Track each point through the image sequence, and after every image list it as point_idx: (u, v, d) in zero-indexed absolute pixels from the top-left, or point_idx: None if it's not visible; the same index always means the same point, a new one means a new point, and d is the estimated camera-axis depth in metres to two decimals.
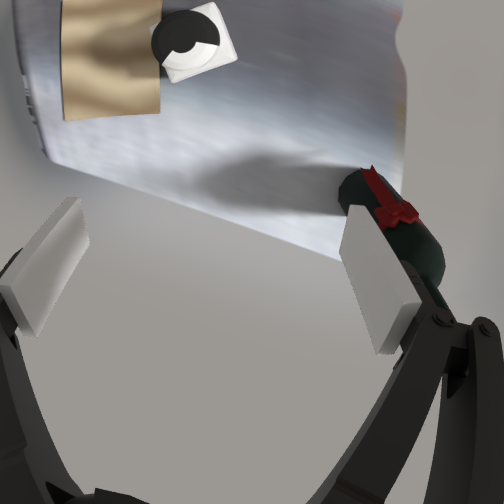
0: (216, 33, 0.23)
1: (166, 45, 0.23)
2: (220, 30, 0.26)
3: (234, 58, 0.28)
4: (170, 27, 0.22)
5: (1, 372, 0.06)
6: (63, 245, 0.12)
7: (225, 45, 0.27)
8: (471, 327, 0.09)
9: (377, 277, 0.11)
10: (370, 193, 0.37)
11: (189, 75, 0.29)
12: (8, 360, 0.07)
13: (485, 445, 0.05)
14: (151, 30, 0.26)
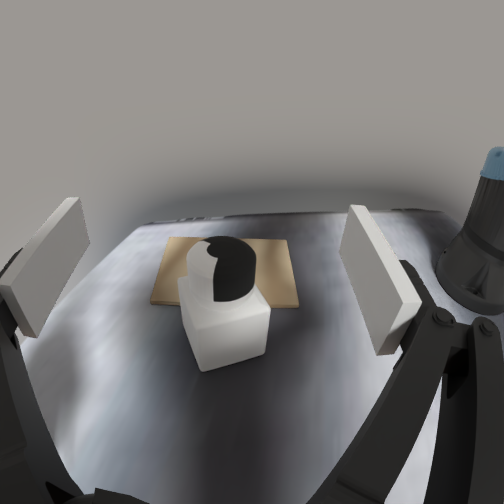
0: (227, 277, 0.26)
1: (217, 240, 0.29)
2: (234, 314, 0.28)
3: (198, 327, 0.27)
4: (236, 243, 0.28)
5: (1, 372, 0.06)
6: (63, 245, 0.12)
7: (214, 317, 0.27)
8: (471, 327, 0.09)
9: (377, 277, 0.11)
10: None
11: (183, 290, 0.30)
12: (8, 360, 0.07)
13: (485, 445, 0.05)
14: None
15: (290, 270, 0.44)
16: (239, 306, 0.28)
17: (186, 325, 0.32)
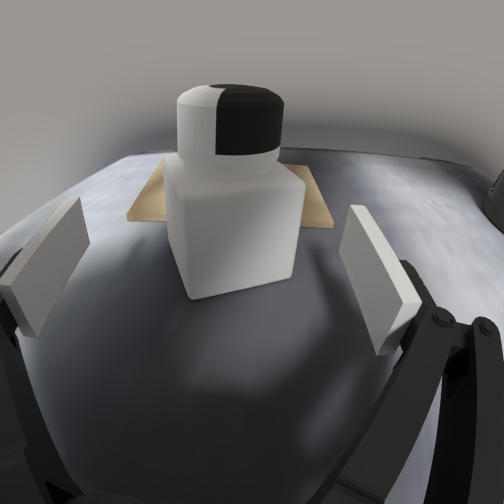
0: (240, 105, 0.14)
1: (224, 84, 0.17)
2: (248, 183, 0.17)
3: (187, 198, 0.16)
4: (253, 86, 0.17)
5: (1, 372, 0.06)
6: (63, 245, 0.12)
7: (215, 186, 0.16)
8: (471, 327, 0.09)
9: (377, 277, 0.11)
10: None
11: (168, 164, 0.19)
12: (8, 360, 0.07)
13: (485, 445, 0.05)
14: None
15: (316, 190, 0.33)
16: (256, 175, 0.17)
17: (171, 229, 0.21)
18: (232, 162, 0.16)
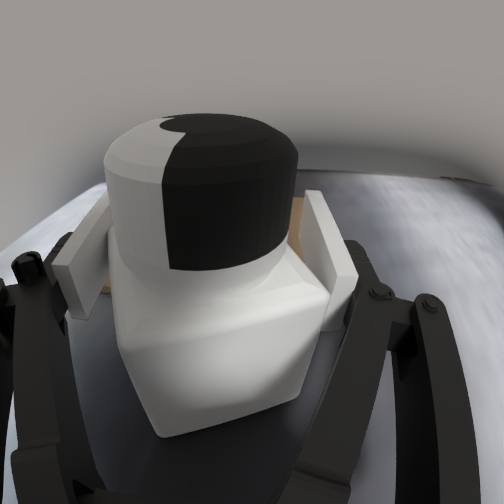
0: (211, 178, 0.07)
1: (193, 115, 0.10)
2: (233, 310, 0.10)
3: (126, 348, 0.08)
4: (242, 118, 0.10)
5: (44, 360, 0.07)
6: None
7: (176, 320, 0.09)
8: (413, 306, 0.09)
9: (321, 255, 0.12)
10: None
11: (110, 251, 0.12)
12: (54, 347, 0.08)
13: (447, 426, 0.06)
14: None
15: None
16: (248, 288, 0.10)
17: None
18: (202, 281, 0.09)
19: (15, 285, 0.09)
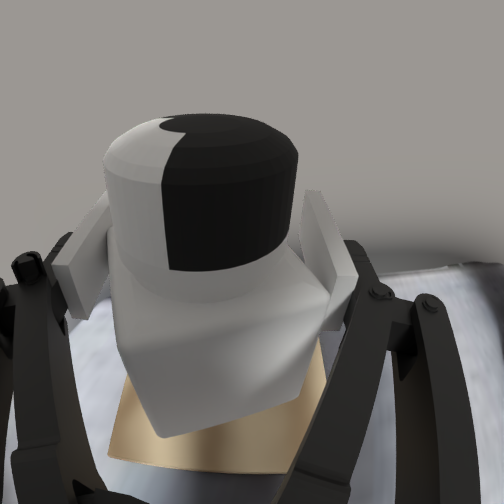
0: (211, 179, 0.07)
1: (192, 115, 0.10)
2: (233, 311, 0.10)
3: (126, 349, 0.08)
4: (242, 118, 0.10)
5: (44, 360, 0.07)
6: None
7: (175, 321, 0.09)
8: (413, 306, 0.09)
9: (321, 255, 0.12)
10: None
11: (110, 252, 0.12)
12: (54, 347, 0.08)
13: (448, 426, 0.06)
14: None
15: None
16: (248, 289, 0.10)
17: None
18: (202, 282, 0.09)
19: (15, 285, 0.09)
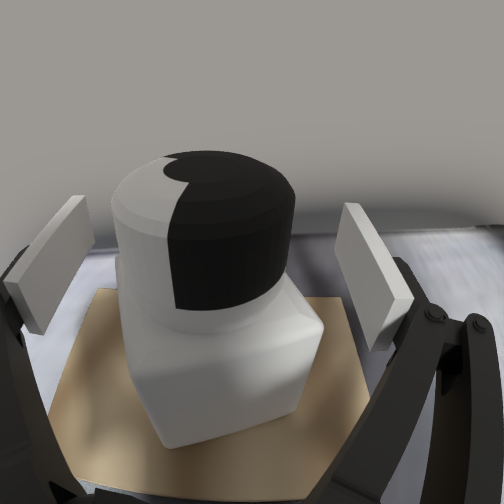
0: (212, 234, 0.08)
1: (195, 154, 0.11)
2: (234, 342, 0.10)
3: (137, 377, 0.09)
4: (243, 159, 0.11)
5: (6, 370, 0.06)
6: (69, 243, 0.13)
7: (182, 351, 0.10)
8: (464, 324, 0.09)
9: (370, 274, 0.11)
10: None
11: (119, 280, 0.13)
12: (14, 358, 0.07)
13: (481, 442, 0.05)
14: None
15: (361, 383, 0.17)
16: (247, 321, 0.11)
17: None
18: (205, 319, 0.10)
19: None
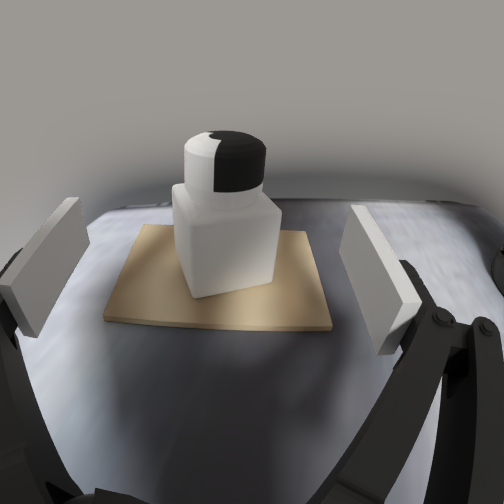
0: (232, 156, 0.21)
1: (221, 131, 0.24)
2: (238, 212, 0.23)
3: (192, 224, 0.22)
4: (243, 134, 0.24)
5: (1, 372, 0.06)
6: (63, 245, 0.12)
7: (214, 214, 0.22)
8: (471, 327, 0.09)
9: (377, 277, 0.11)
10: None
11: (177, 194, 0.25)
12: (8, 360, 0.07)
13: (485, 445, 0.05)
14: None
15: (315, 273, 0.30)
16: (244, 205, 0.24)
17: (179, 243, 0.27)
18: (226, 197, 0.22)
19: None
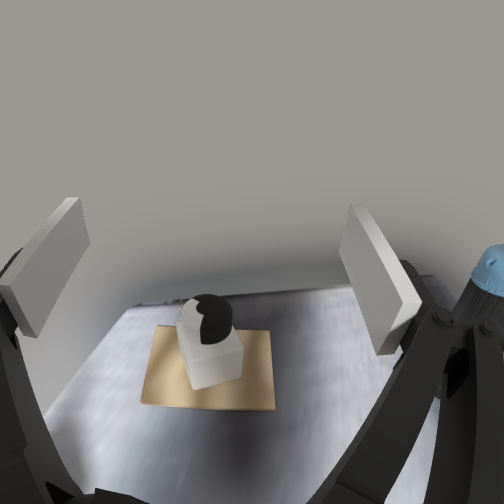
0: (210, 329, 0.35)
1: (204, 299, 0.38)
2: (216, 352, 0.38)
3: (190, 361, 0.36)
4: (218, 301, 0.38)
5: (1, 372, 0.06)
6: (63, 245, 0.12)
7: (202, 354, 0.37)
8: (471, 327, 0.09)
9: (377, 277, 0.11)
10: None
11: (179, 332, 0.40)
12: (8, 360, 0.07)
13: (485, 445, 0.05)
14: None
15: (270, 369, 0.44)
16: (220, 346, 0.38)
17: (182, 355, 0.42)
18: (208, 346, 0.37)
19: None
